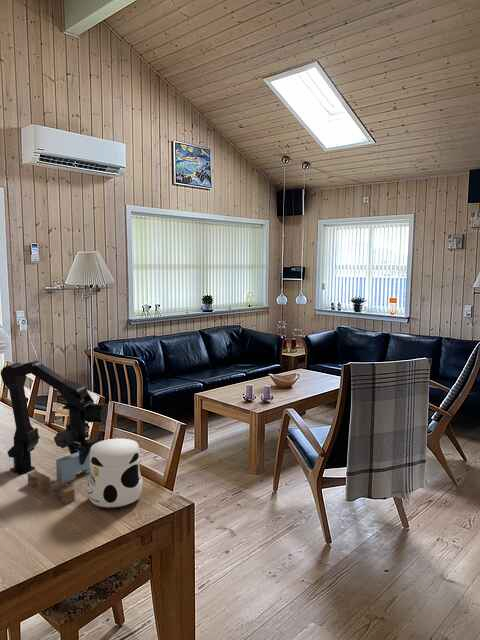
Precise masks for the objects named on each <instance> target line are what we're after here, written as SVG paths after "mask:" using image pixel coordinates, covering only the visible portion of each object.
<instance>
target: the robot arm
mask: <svg viewBox="0 0 480 640" xmlns="http://www.w3.org/2000/svg"><path fill="white" fill-rule="evenodd" d="M30 374H32V375H33V376H34V377H36V378H37V379H39V380H41V381H42V382H44V383H45V384H46V385H48V386H50V387H51V388H52V389H54V390H56V391H57V392H59V395H60V396H61V397H62V398H63V400H65V402H66V404H65V405H63V407H62V409H63V410H68V423H67V424H66V426H65V429H64V430H61V431H58V432H57V433H56V435H55V436H54V437H53V441H54V443H55V445H56V447H60V448H61V449H64V448H65V449H66V448H68V450H69V453H70V454H69V455H71V454H74V453H77V452H79V457H80V464H81V465H83V464H84V462H85V460H86V458H87V456H88V454H89V452H90V449H91V447H92V446H93V445H94V444H96V443H98V442H100V441H101V440H100V439H97V438H94V437H91V438H89V436H90V435H89V433H87V427H88V426H89V423H94V424H104V423H106V421H107V419H108V415H109V413H108V409H107V407H106V406H105V403H101V402H100V403H95V400H94V399H93V398H92V396H91V395H90V393H89V392H88V388H87V387H86V386H85V385H84V384H81V383H78V382H75V381H71V380H69V379H66V378H64V377H63V376H62V375H60V374H59V373H57V372H55V371H54V370H52V369H51V368H49V367H48V366H46V365H44V364H43V363H42V362H41V361H40V360H33V361H31V362H25V363H21V362H14V363H12V364H8V365H6V366H3V367H2V369H1V370H0V378H1V379H2V383H3V385H4V386H5V387H6V389H8V391H9V397H10V401H11V402H10V403H11V407H12V413H13V418H14V425H15V430H14V435H13V446H11V448H9V450H8V451H7V456H8V457H9V458H11V459H13V467H11V468H9V470H10V472H13V473H15V474H17V475H21V474H25V473H28V472H30V471H32V470H36V467H35V466H34V465H32V457H31V456H32V455H31V454H32V453H31V452H32V451H34V450H35V448H36V446H37V445H38V444H39V439H40V438H41V436H40V435H39V429H38V428H37V427H35V428H34V426H32V424H31V420H30V415H29V408H28V401H27V398H26V397H27V396H26V392H25V383H26V380H27V375H30Z"/></svg>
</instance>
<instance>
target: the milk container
mask: <svg viewBox="0 0 480 640" xmlns="http://www.w3.org/2000/svg"><path fill="white" fill-rule="evenodd" d="M99 441H100V442H98V443H96V444H94V445H93V446H92V447H91V449H90V473H89V479H88V482H87V495H88V499H89V501H90V503H92V505H94V506H97V507H98V508H101V509H121V508H125V507H127V506H129V505H132V504H133V503H135V502H136V501H138V500H139V499H140V497H141V495H142V493H143V487H144V486H143V485H144V483H143V477H142V475H141V474H142V473H141V469H140V466H141V465H140V464H141V463H140V462H141V457H140V448H139V447H140V446H139V443H138V442H137V441H135V440H133V439H129V438H110V439H104V440H99Z"/></svg>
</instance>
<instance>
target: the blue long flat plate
mask: <svg viewBox="0 0 480 640" xmlns="http://www.w3.org/2000/svg"><path fill="white" fill-rule="evenodd" d="M55 463H56V464H55V467H56V482H60V483H63V484H66V483H69V482H71V481H73V480H76V476H77V475H76V474H77V473H79V472H83V473H85V474H90V452H89V454H88V456H87V458H86V460H85V462H84V464H83V465H81V464H80V457H79V452H77V453H74V454H68V455H65V456H63V457H60V458H58V459H55Z"/></svg>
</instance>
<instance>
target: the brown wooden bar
mask: <svg viewBox="0 0 480 640" xmlns="http://www.w3.org/2000/svg"><path fill="white" fill-rule="evenodd" d="M27 486H30V487H32V488H33V489H35V490H37V491H38V492H39V491H40V492H42V493H44V494H45V495H47V496H49V497H51V498H53V499H55V500H57V501H59V502H61V503H62V504H65V505H69V504H70V503H73V502H75V488H73V487H71V486H69V485H66V483H60V482H57V481H56V482H54V483H51V477H50V476H47V475H45V474H44V473H41V472H39V471H37V470H35V471H32V472H28V473H27Z"/></svg>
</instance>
